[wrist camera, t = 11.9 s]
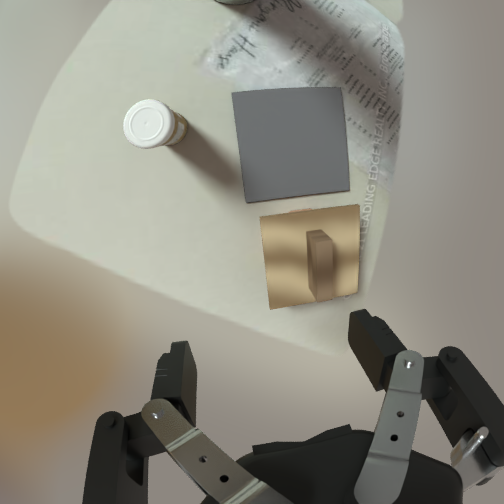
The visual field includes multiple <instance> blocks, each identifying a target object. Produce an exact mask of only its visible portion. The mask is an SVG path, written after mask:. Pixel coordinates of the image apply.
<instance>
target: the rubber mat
mask: <svg viewBox="0 0 504 504" xmlns="http://www.w3.org/2000/svg"><path fill="white" fill-rule="evenodd" d="M232 100H233V108H234V115H235V123H236V131H237V138H238V146H239V153H240V161H241V169H242V176H243V184H244V192H245V199H246V203H248V202H255V201H262V200H269V199H277V198H285V197H292V196H301V195H309V194H318V193H326V192H336V191H345V190H349V172H348V156H347V142H346V131H345V120H344V111H343V102H342V94H341V88H336V87H306V88H280V89H264V90H253V91H243V92H234V93H232Z"/></svg>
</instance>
